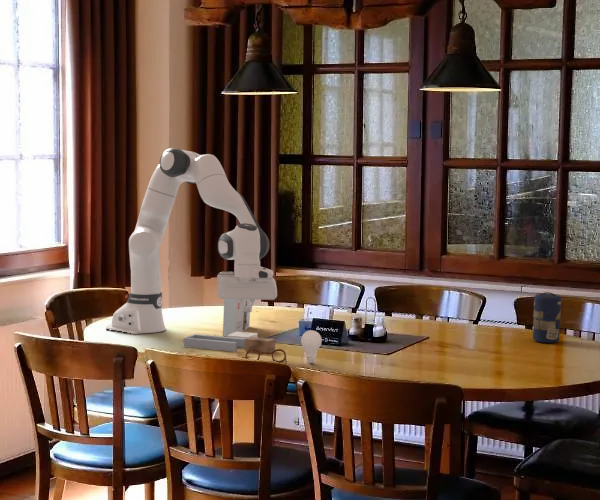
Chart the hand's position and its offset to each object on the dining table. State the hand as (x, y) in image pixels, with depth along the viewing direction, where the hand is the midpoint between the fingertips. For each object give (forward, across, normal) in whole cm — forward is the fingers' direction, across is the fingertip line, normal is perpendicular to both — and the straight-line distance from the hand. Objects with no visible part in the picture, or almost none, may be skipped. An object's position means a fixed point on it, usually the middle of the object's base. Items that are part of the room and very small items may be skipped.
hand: (247, 312), depth 351 cm
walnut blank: (+13, +5, -2) cm, 14 cm away
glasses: (+14, +10, -25) cm, 30 cm away
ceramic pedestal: (+13, -3, +10) cm, 17 cm away
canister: (+14, +104, +28) cm, 109 cm away
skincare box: (+13, -9, +32) cm, 36 cm away
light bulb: (+13, +24, -19) cm, 33 cm away
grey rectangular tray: (+13, -11, +3) cm, 18 cm away
